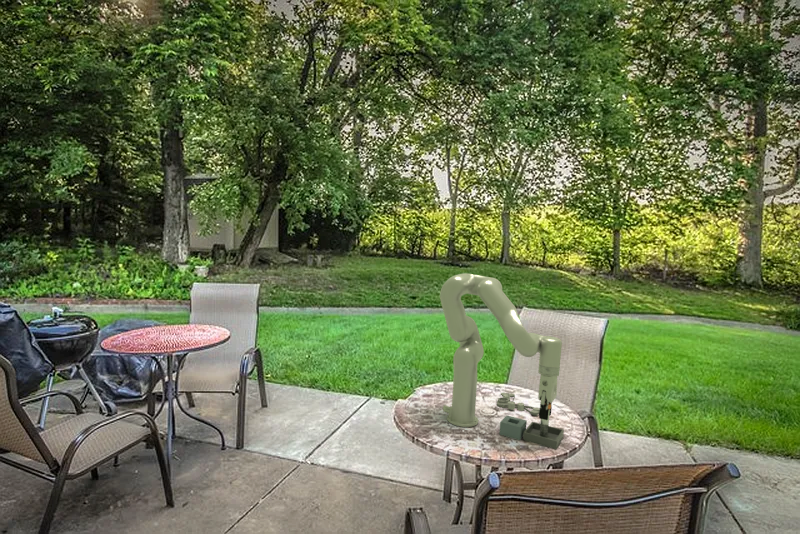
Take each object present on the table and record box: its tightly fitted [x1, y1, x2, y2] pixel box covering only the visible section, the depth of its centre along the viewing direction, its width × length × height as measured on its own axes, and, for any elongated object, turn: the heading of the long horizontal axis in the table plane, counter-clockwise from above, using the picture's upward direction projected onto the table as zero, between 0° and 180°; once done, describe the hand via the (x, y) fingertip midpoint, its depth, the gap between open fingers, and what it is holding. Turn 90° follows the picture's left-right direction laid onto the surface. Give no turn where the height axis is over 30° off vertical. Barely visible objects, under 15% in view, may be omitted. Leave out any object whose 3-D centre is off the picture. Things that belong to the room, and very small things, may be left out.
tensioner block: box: [498, 415, 528, 441], centre depth 179 cm, size 8×8×5 cm
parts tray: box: [522, 421, 565, 450], centre depth 176 cm, size 12×12×3 cm
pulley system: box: [496, 392, 540, 417], centre depth 209 cm, size 27×5×15 cm
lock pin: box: [539, 403, 552, 437], centre depth 176 cm, size 4×4×12 cm
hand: (544, 416), depth 176 cm, fingers open, 4 cm apart
